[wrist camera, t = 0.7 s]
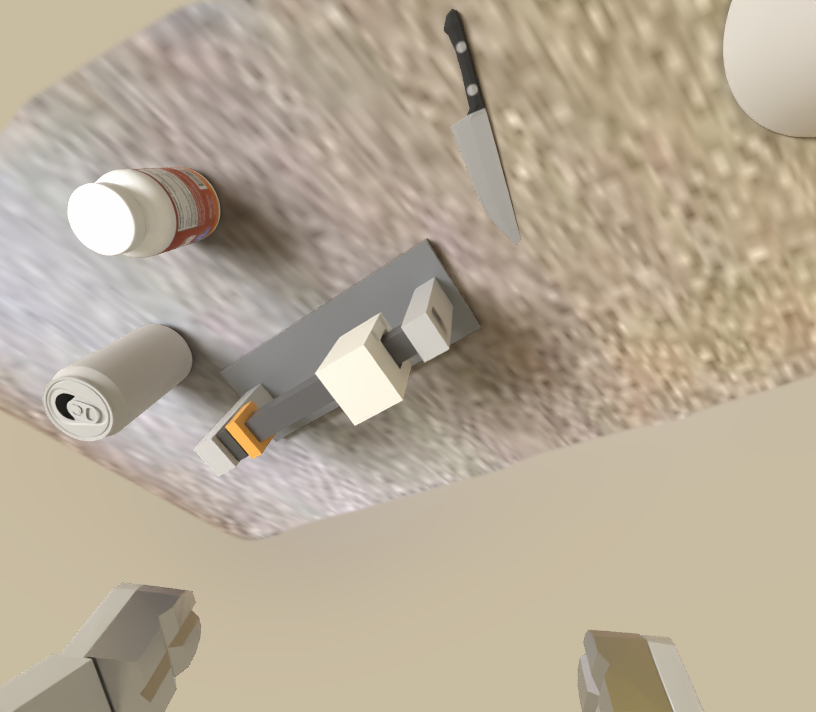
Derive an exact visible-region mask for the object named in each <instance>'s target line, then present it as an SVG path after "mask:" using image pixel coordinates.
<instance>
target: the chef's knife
mask: <svg viewBox="0 0 816 712" xmlns="http://www.w3.org/2000/svg"><path fill="white" fill-rule="evenodd" d="M444 31H445V32H446V33H447V34H448V35H449V38H450V40H451V42H452V44H453V46H454V48H455V51H456V54H457V58H458V61H459V65H460V68H461V72H462V76H463V81H464V86H465V91H466V95H467V99H468V103H469V107H470V109H469V112H468V114H467V116H465V117H464V118H463V119H461V120H460V121H458V122H457V123H455V124H454V125H453V126H451V127H450V128H451V131H452V133H453V136H454V138H455V140H456V143H457V145H458V148H459V150H460V153H461V155H462V158H463V160H464V163H465V165H466V168H467V170H468V173H469V175H470V178H471V180H472V183H473V185H474V188H475V190H476V193H477V195H478V198H479V200H480V202H481V204H482V206H483V207H484V209H485V211H486V213H487V215H488V217H489V218H490V219H491V220H492V221H493V222H494V224H495V225H496V226H497V227H498V228H499V229H500V230H501V231H502V232H503V233H504V234H505V235H506V236H507V237H508V238H509V239H510V240H512V241H513V242H514V243H515V244H516V245H517V244H518V242H519V241H520V240H521V238H520V234H519V230H518V226H517V223H516V219H515V215H514V211H513V207H512V203H511V200H510V196H509V192H508V189H507V185H506V181H505V178H504V174H503V170H502V167H501V163H500V159H499V156H498V152H497V148H496V145H495V141H494V138H493V134H492V130H491V127H490V123H489V119H488V116H487V112H486V108H485V105H484V101H483V97H482V94H481V90H480V87H479V83H478V79H477V76H476V72H475V68H474V65H473V61H472V57H471V54H470V50H469V46H468V43H467V39H466V35H465V32H464V28H463V25H462V21H461V19H460V17H459V14H458V12H457V11H456V10H454V9H452V10H451V11H450V12H449V13H448V15H447V16H446V21H445V26H444Z"/></svg>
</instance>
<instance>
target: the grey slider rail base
mask: <svg viewBox="0 0 816 712" xmlns="http://www.w3.org/2000/svg"><path fill="white" fill-rule="evenodd" d="M380 312H381V313H382V315H383V316H384V318H385V319H386V321H387V322H388V323H389V325H390V326H391V328H392V330H391V331H389V332H387V333H386V334H384V335H382V337H381V339H380V341H381V343H382V344H383V345H384V347H385V348H386V350H387V351H388V353H389V354H390V355H391V357H392V358H393V360H394V361H395V363H396V364H397V365H399V364H401V363H402V362H404V361H406V360H408V359H409V358H411V357H412V359H413V363H412V366H413V365H415V364H417V363H419V362H421V361H422V360H423V361H424V362H427V361H429V360H431V359H432V358H434V357H436V356H438V355H440V354H441V353H443V352H445V351H447V350H449V349H450V345H451V344H453V343H455V342H457V341H458V340H460V339H462V338H464V337H466V336H467V335H469V334H471V333H473V332H475V331H477V330H478V329H480V324H479V322H478V320H477V319H476V317H475V315H474V314H473V312H472V311H471V309H470V307H469V306H468V304H467V303H466V301H465V299H464V298H463V296H462V294H461V293H460V291H459V290H458V288H457V286H456V285H455V283H454V282H453V280H452V278H451V277H450V275H449V274H448V272H447V270H446V269H445V267H444V265H443V264H442V262H441V261H440V259H439V257H438V256H437V254H436V253H435V251H434V249H433V248H432V246H431V244H430V243H429V241H428V240H427V239H425V240H423V241H422V242H420V243H419V244H417V245H416V246H414V247H413V248H411V249H409V250H408V251H406V252H405V253H403V254H402V255H400V256H399V257H397V258H395V259H394V260H392V261H391V262H389V263H388V264H386V265H384V266H383V267H381V268H380V269H378V270H377V271H375V272H374V273H372V274H370V275H369V276H367V277H366V278H364V279H363V280H361V281H360V282H358V283H356V284H355V285H353V286H352V287H350V288H349V289H347V290H346V291H344V292H342V293H341V294H339V295H338V296H336V297H335V298H333V299H332V300H330V301H328V302H327V303H325V304H324V305H322V306H321V307H319V308H318V309H316V310H314V311H313V312H311V313H310V314H308V315H307V316H305V317H304V318H302V319H300V320H299V321H297V322H296V323H294V324H293V325H291V326H290V327H288V328H286V329H285V330H283V331H282V332H280V333H279V334H277V335H276V336H274V337H272V338H271V339H269V340H268V341H266V342H265V343H263V344H262V345H260V346H258V347H257V348H255V349H254V350H252V351H251V352H249V353H248V354H246V355H244V356H243V357H241V358H240V359H238V360H237V361H235V362H233V363H232V364H230V365H229V366H227V367H226V368H224V369H223V370H222V371H221V372H220V373H219V374H220V375H221V376H222V377H223V378H224V380H225V381H226V382H227V383H228V384H229V386H230V387H231V388H232V389H233V390H234V392H235V393H236V394H237V395H238V396H239V398H240V399H239V400H238V401H237V402H236V404H235V405H234V406H233V407H232V408H231V409H230V410H229V411H228V412H227V413H226V414H225V416H224V417H223V418H222V419H221V420H220V421H219V422H218V423H217V424H216V425H215V426H214V427H213V429H212V430H211V431H210V432H209V433H208V434H207V435H206V436H205V437H204V438H203V439H202V441H201V442H200V443H199V444H198V445H197V446H196V447H195V448H194V449H193V450H194V451H195V452H196V453H197V454H198V455H199V456H200V457H201V459H202V460H203V461H204V462H205V463H206V464H207V465H208V466H209V467H210V469H211V470H212V471H213V472H214V473H215V474H216V475H217V476H220V475H222V474H224V473H226V472H227V471H229V470H231V469H233V468H235V467H236V466H237V464H238V463H239V462H240V460H242V459H244V458H246V457H247V456H248V455H249V456H250V457H251V458H252V459H253V458H255V457H257V456H259V455H261V454H262V453H263V451H264V450H265V448H266V447H267V445H268V444H269V443H270V441H271V440H272V438H273V439H274V440H275V441H278V440H280V439H282V438H283V437H285V436H287V435H289V434H291V433H292V432H294V431H296V430H298V429H300V428H301V427H303V426H305V425H307V424H309V423H310V422H312V421H314V420H316V419H318V418H319V417H321V416H323V415H325V414H327V413H328V412H330V411H332V410H334V409H336V408H337V407H339V404H338V403H337V402H336V400H335V399H334V398H333V396H332V395H331V394H330V393H329V391H328V390H327V389H326V387H325V386H324V385H323V383H322V382H321V381H320V379H319V378H318V377H317V375H316V374H315V372H316V371H317V370H318V368H319V367H320V365H321V364H322V362H323V361H324V359H325V358H326V356H327V355H328V353H329V352H330V351H331V349H332V348H333V346H334V345H335V343H336V342H337V340H338V339H339V337H341V336H342V335H344V334H346V333H347V332H349V331H351V330H352V329H354V328H356V327H357V326H359V325H361V324H362V323H364V322H365V321H367V320H369V319H370V318H372V317H374V316H375V315H377V314H379V313H380Z"/></svg>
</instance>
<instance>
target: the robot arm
mask: <svg viewBox="0 0 816 712" xmlns="http://www.w3.org/2000/svg"><path fill="white" fill-rule="evenodd" d="M723 57H724V66H725V72H726V76H727V80H728V83H729V86H730V89H731V91H732V93H733V95H734V97H735V99H736V101H737V102H738V104H739V105H740V107H741V108H742V109H743V110H744V111H745V113H746V114H747V115H748V116H749V117H751V118H752V119H753V120H754V121H755V122H757V123H758V124H760V125H761V126H763V127H765V128H767V129H769V130H771V131H774V132H776V133H780V134H783V135H788V136H794V137H816V0H732V3H731V6H730V9H729V12H728V16H727V20H726V26H725V32H724V43H723ZM195 603H196V602H195V598H194V595H193V591H188V590H180V589H172V588H164V587H157V586H148V585H141V584H131V583H123V582H122V583H121V584H119V585H118V586H116V587H114V588H113V589H112V590H111V592H110V593H109V594H108V595H107V597H106V598H105V599H104V600H103V602H102V603H101V604H100V605H99V607H98V608H97V609H96V610H95V611H94V613H93V614H92V615H91V616H90V618H89V619H88V620H87V621H86V623H85V624H84V625H83V626H82V628H81V629H80V630H79V631H78V632H77V634H76V635H75V636H74V637H73V639H72V640H71V641H70V642H69V644H68V645H67V646H66V647H65V648H64V650H63V651H62V652H61V653H60V655H57V654H52V655H50V656H49V657H47V658H45V659H44V660H42V661H41V662H39V663H37V664H36V665H34V666H33V667H31V668H29V669H28V670H26V671H24V672H23V673H21V674H20V675H18V676H16V677H15V678H13V679H12V680H10V681H8V682H7V683H5V684H3V685H2V686H0V712H165V710H166V708H167V706H168V704H169V702H170V700H171V699H172V697H173V695H174V693H175V691H176V679H175V677H176V676H177V675H179V674H180V673H181V672H183V671H184V670H185V669H186V668H188V667H189V665H190V663H191V661H192V659H193V657H194V655H195V653H196V650H197V646H198V643H199V640H200V634H201V624H200V619H199V617H198V616H197V615H196V614H195V613H194V612H193V611H192V610H191V609H192V608H193V606H194V604H195ZM584 647H585V651H586V654H585V655H583V656H582V657H581V658H580V661H579V666H578V689H579V698H580V703H581V708H582V712H704V710H703V708H702V706H701V703H700V701H699V699H698V697H697V694H696V692H695V690H694V687H693V685H692V683H691V680H690V678H689V676H688V674H687V671H686V669H685V667H684V664H683V662H682V660H681V658H680V655H679V653H678V651H677V648H676V646H675V644H674V643H673V641H672V640H671V639H670V638H667V637H658V636H647V635H640V634H634V633H622V632H610V631H598V630H588V631H587V632H586V634H585V638H584Z"/></svg>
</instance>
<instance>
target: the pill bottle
mask: <svg viewBox="0 0 816 712" xmlns="http://www.w3.org/2000/svg"><path fill="white" fill-rule="evenodd" d="M68 218H69V222H70V225H71V227H72V229H73V231H74V233H75V234H76V236H77V237H78V238H79V240H80V241H81V242H82V243H83V244H84V245H85V246H87V247H88V248H90V249H91V250H93V251H95V252H97V253H99V254H102V255H107V256H115V255H120V254H124V255H127V256H131V257H137V258H144V257H150V256H154V255H158V254H161V253H164V252H167V251H170V250H173V249H176V248H179V247H182V246H185V245H188V244H191V243H194V242H197V241H200V240H202V239H204V238H206V237H208V236H209V235H210V234H211V233H212V232H213V231H214V230H215V229H216V227H217V225H218V222H219V219H220V203H219V199H218V196H217V194H216V192H215V190H214V188H213V187H212V185H211V184H210V183H209V181H208V180H207V179H206V178H205V177H203V176H202V175H201V174H199V173H198V172H196V171H194V170H191V169H188V168H184V167H166V168H144V169H123V170H115V171H111V172H109V173H107V174H105V175H103V176H102V177H101V178H99V179H98V180H97V181H96V182H95V183H90V184H85V185H83V186H80V187H79V188H77V189H76V190H75V191H74V192H73V193H72V195H71V197H70V200H69V203H68Z"/></svg>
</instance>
